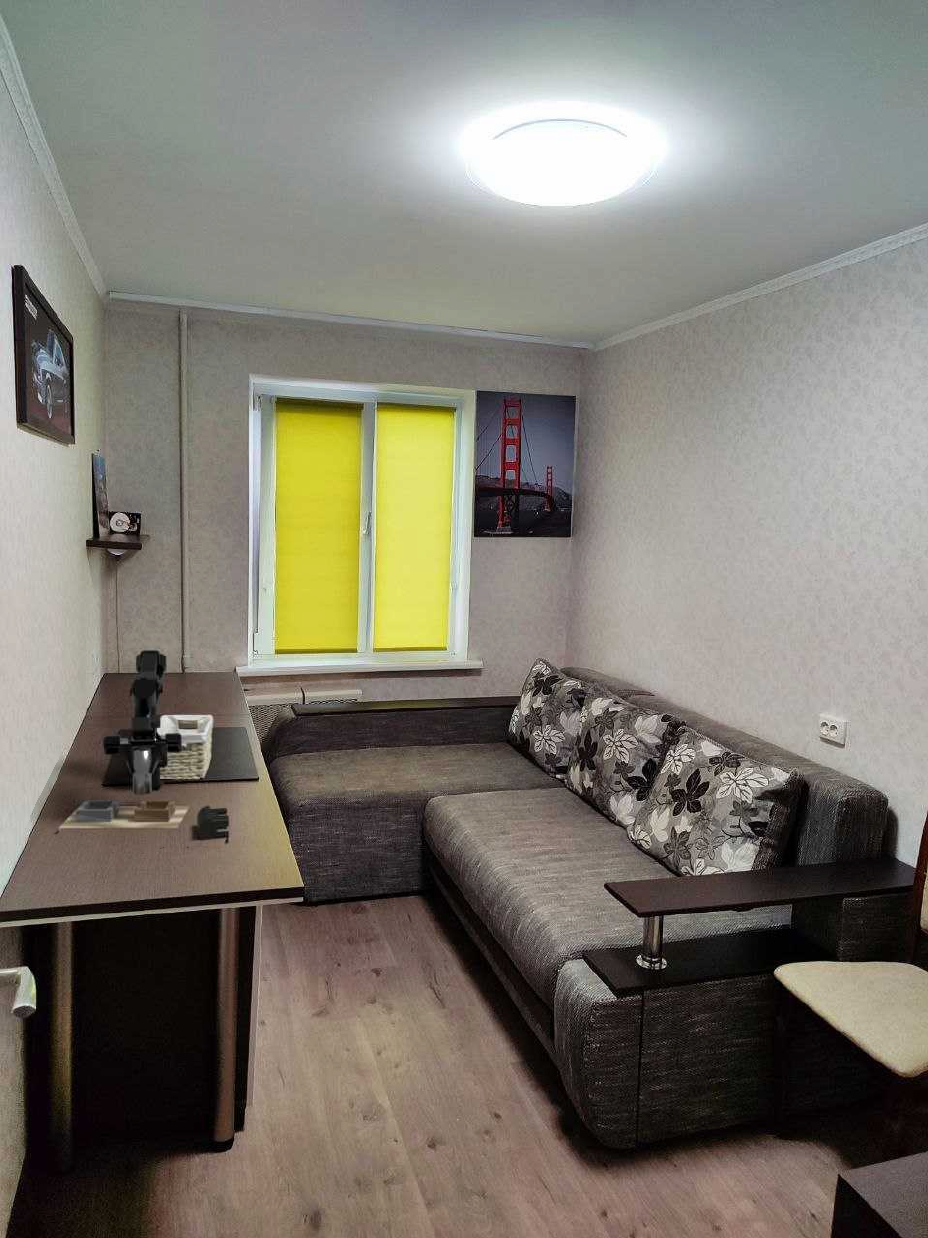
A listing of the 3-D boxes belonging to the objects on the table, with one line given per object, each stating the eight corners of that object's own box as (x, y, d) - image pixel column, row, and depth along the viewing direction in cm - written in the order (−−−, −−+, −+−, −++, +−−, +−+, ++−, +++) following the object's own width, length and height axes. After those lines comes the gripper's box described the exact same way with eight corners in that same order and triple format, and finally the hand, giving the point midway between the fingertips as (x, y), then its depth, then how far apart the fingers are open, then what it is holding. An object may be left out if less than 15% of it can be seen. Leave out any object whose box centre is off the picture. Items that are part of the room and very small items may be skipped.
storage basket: (206, 781, 263) (206, 732, 261) (148, 782, 260) (148, 732, 258) (214, 759, 286) (214, 714, 284) (161, 759, 283) (161, 714, 281)
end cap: (196, 832, 222) (196, 806, 221) (226, 830, 224) (226, 804, 223) (198, 847, 212) (198, 819, 212) (228, 844, 215) (229, 817, 214)
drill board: (79, 812, 233) (79, 795, 232) (189, 811, 236) (189, 795, 235) (58, 834, 217) (58, 816, 216) (177, 833, 220) (177, 816, 220)
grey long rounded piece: (136, 789, 228) (136, 747, 226) (153, 789, 228) (153, 747, 226) (130, 794, 223) (130, 751, 222) (148, 795, 223) (147, 752, 222)
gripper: (103, 704, 224) (98, 759, 215) (181, 702, 229) (179, 756, 220) (107, 727, 232) (102, 780, 223) (182, 725, 237) (180, 777, 228)
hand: (141, 773), depth 223 cm, fingers closed on grey long rounded piece, 4 cm apart
